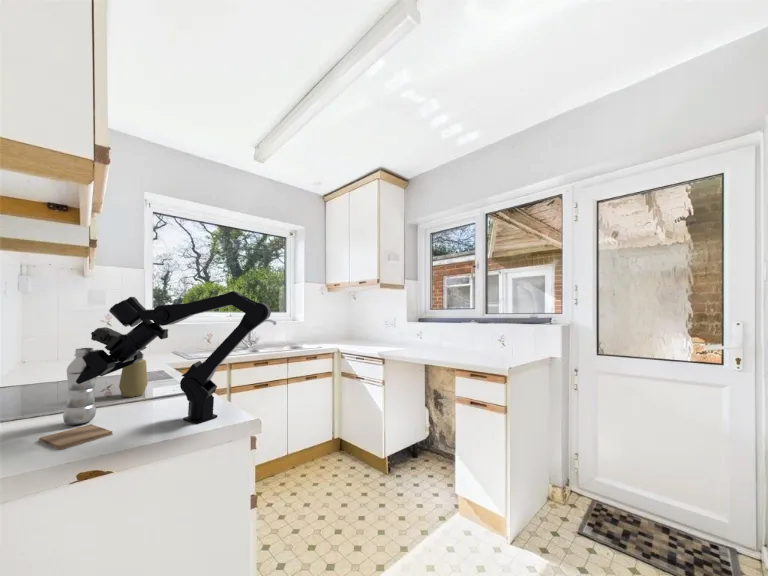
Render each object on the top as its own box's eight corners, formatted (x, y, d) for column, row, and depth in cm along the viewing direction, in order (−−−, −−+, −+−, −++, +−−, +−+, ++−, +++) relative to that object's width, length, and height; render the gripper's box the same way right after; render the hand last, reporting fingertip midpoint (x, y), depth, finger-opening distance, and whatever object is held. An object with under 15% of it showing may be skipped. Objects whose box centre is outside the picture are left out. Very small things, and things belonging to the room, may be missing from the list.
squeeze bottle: (152, 392, 121) (155, 342, 122) (136, 398, 113) (140, 345, 114) (128, 392, 120) (132, 342, 121) (112, 398, 112) (115, 345, 113)
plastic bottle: (101, 419, 92) (107, 347, 93) (77, 428, 86) (83, 350, 87) (81, 418, 93) (86, 346, 94) (54, 427, 86) (60, 349, 87)
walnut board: (112, 434, 83) (112, 431, 83) (59, 449, 73) (60, 446, 74) (90, 427, 87) (91, 424, 87) (38, 441, 78) (39, 437, 78)
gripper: (134, 316, 101) (89, 352, 98) (94, 319, 83) (38, 363, 80) (161, 342, 103) (117, 379, 100) (128, 351, 84) (73, 396, 81)
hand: (89, 378), depth 90 cm, fingers open, 9 cm apart
